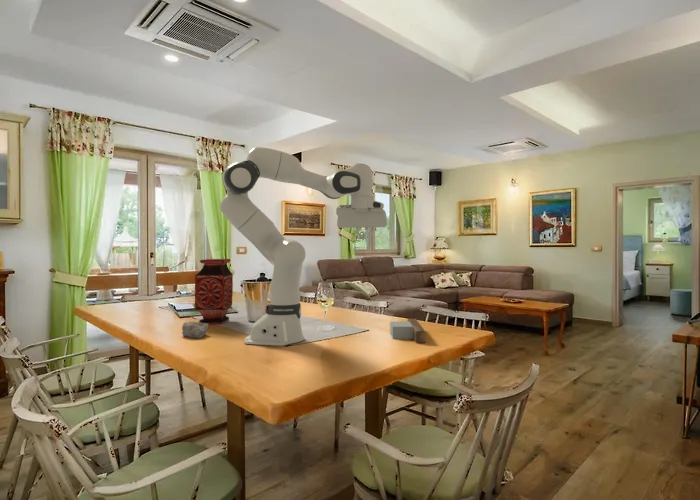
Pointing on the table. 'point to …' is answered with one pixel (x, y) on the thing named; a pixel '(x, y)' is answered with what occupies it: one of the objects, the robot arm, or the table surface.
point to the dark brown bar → (417, 331)
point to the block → (401, 330)
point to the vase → (214, 291)
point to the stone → (194, 329)
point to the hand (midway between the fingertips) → (362, 238)
